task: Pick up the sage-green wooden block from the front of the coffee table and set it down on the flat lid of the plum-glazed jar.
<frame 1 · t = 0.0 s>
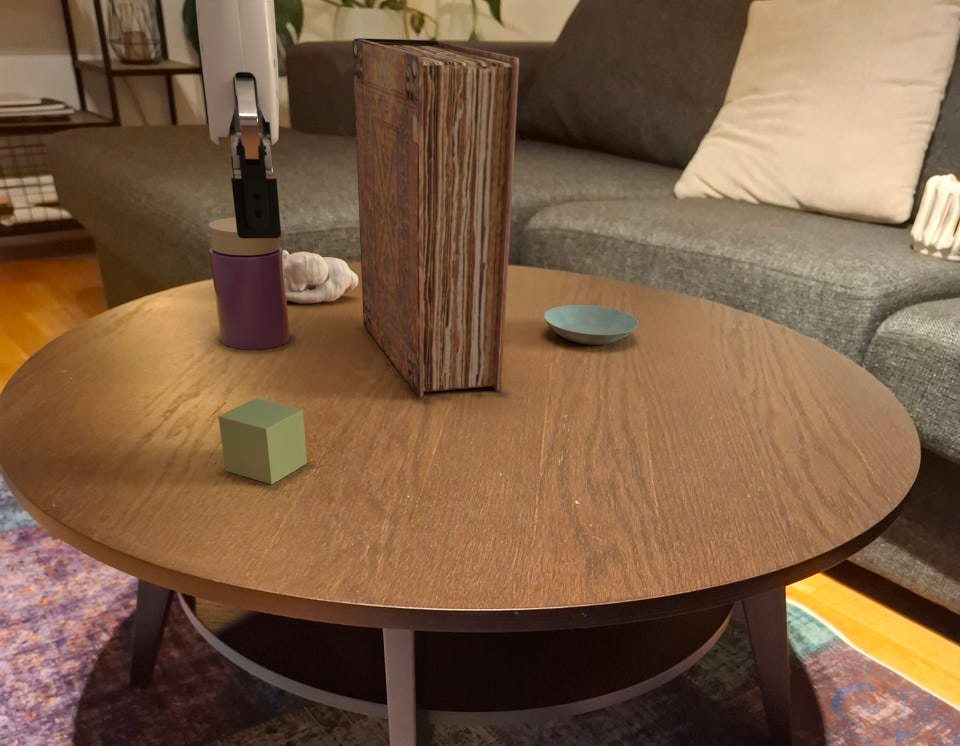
hand: (258, 223, 71), 19 cm above the table, tool pointing down, fingers open, 9 cm apart
baby figurine: (307, 300, 121), on the table
saucer: (588, 338, 113), on the table
jar: (255, 338, 107), on the table
jar lid: (244, 229, 100), point 12 cm above the table, screwed on, not yet turned
block: (266, 467, 79), on the table
book: (426, 358, 104), on the table
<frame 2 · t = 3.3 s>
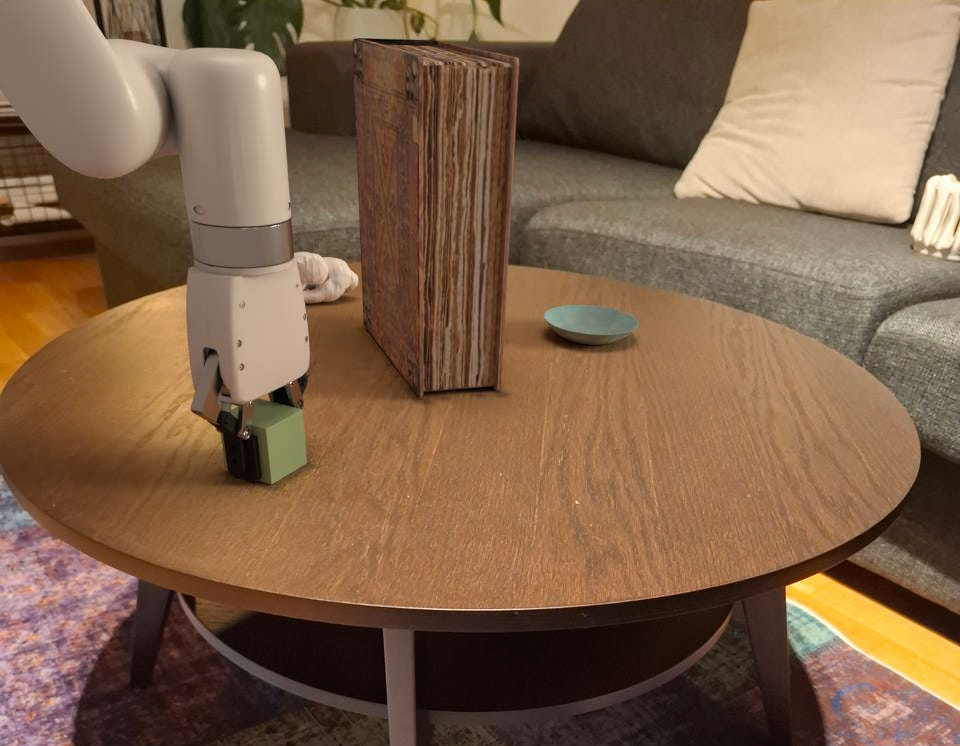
hand: (266, 462, 79), 0 cm above the table, tool pointing down, fingers closed on block, 5 cm apart
block: (266, 467, 79), on the table, touching gripper
everything else where it was.
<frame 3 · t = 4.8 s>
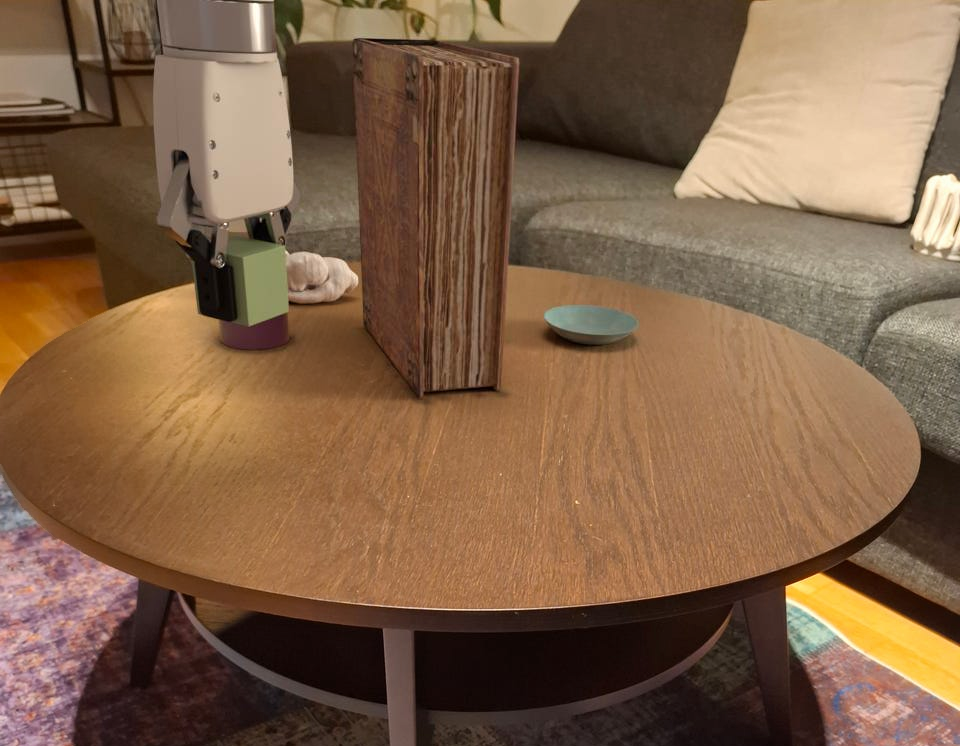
hand: (243, 307, 71), 14 cm above the table, tool pointing down, fingers closed on block, 5 cm apart
block: (244, 313, 71), point 13 cm above the table, touching gripper
everything else where it was.
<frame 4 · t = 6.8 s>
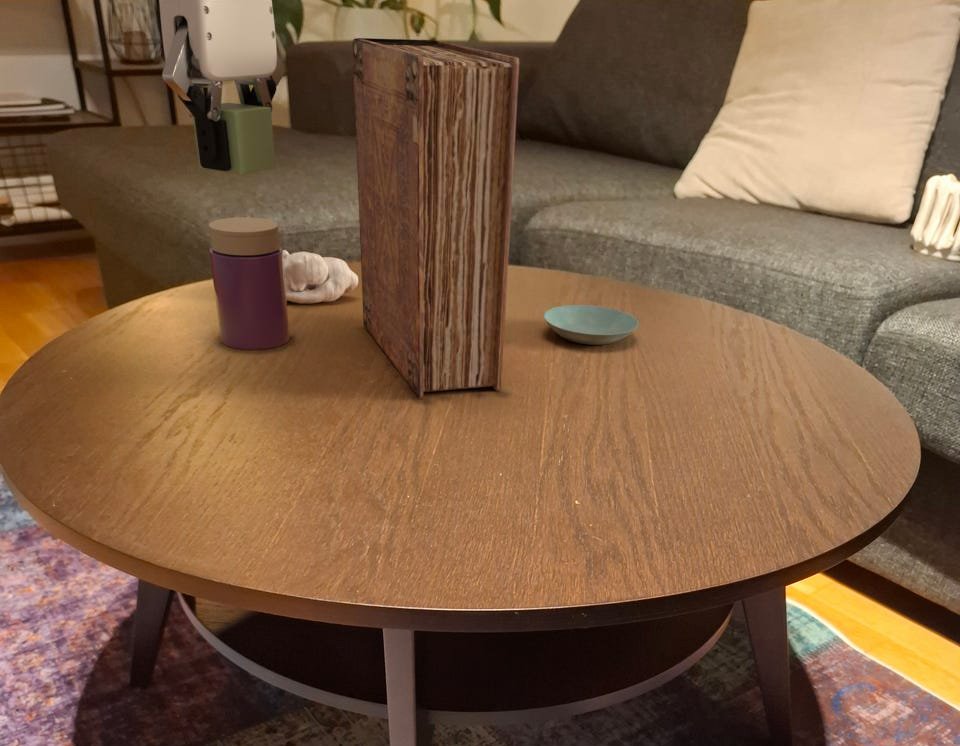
hand: (237, 163, 85), 21 cm above the table, tool pointing down, fingers closed on block, 5 cm apart
block: (238, 168, 85), point 20 cm above the table, touching gripper
everything else where it was.
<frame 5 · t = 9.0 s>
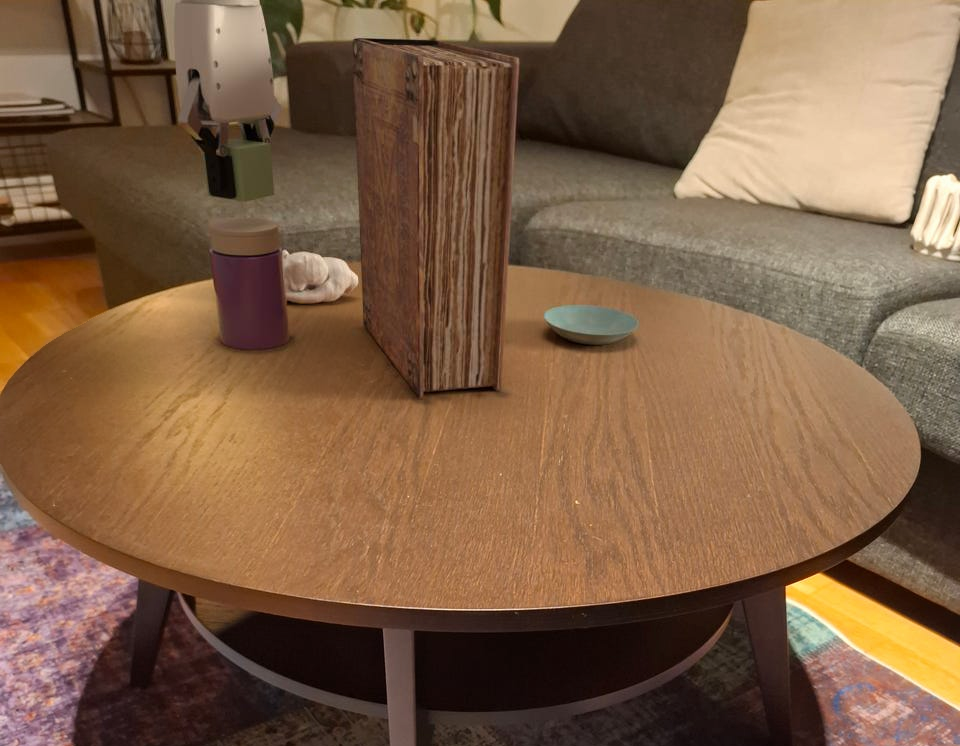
hand: (240, 191, 97), 16 cm above the table, tool pointing down, fingers closed on block, 5 cm apart
block: (241, 195, 98), point 15 cm above the table, touching gripper
everything else where it was.
when the fingers open (13 cm above the table, at t = 10.3 s): block stays where it is, resting on jar lid.
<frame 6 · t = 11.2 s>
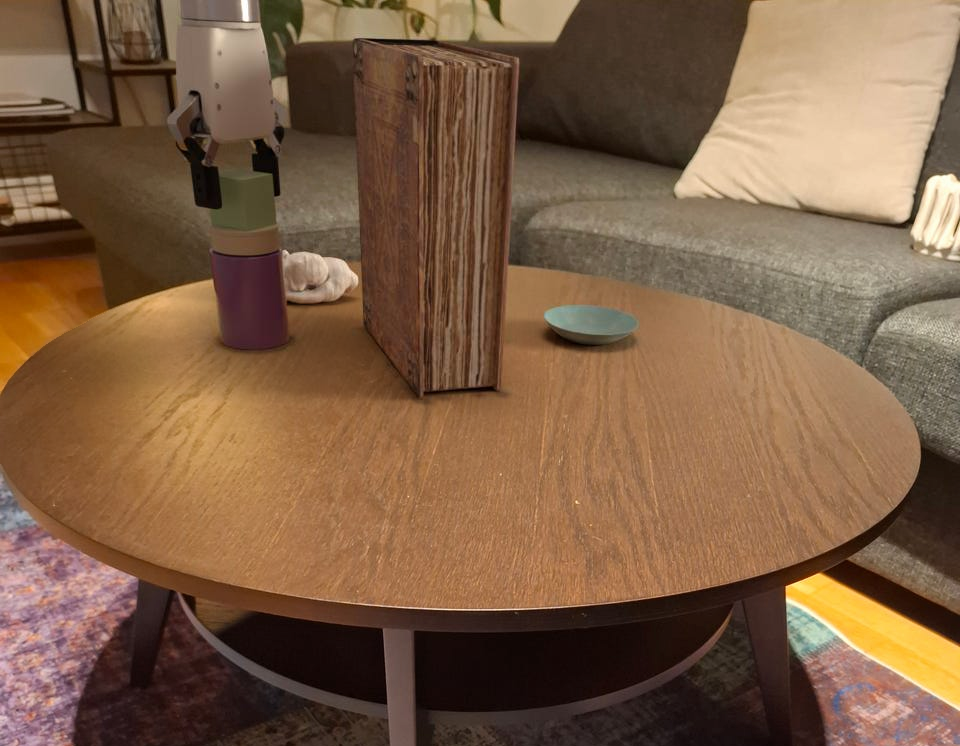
hand: (239, 201, 98), 15 cm above the table, tool pointing down, fingers open, 9 cm apart
jar lid: (244, 229, 100), point 12 cm above the table, screwed on, not yet turned, touching block
block: (244, 224, 99), point 13 cm above the table, touching jar lid
everything else where it was.
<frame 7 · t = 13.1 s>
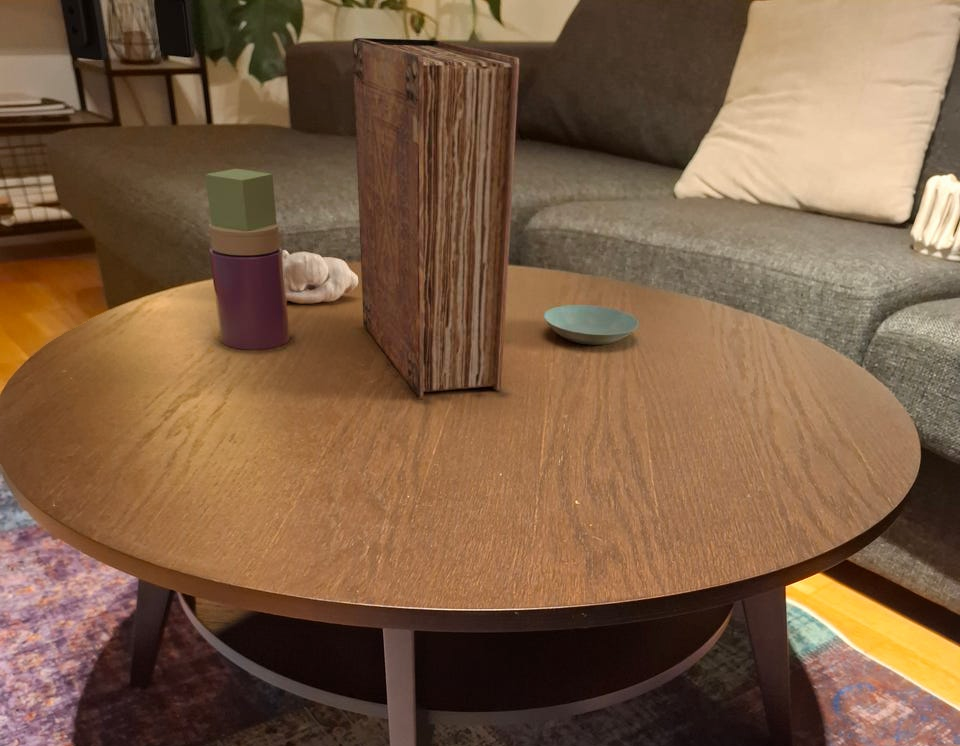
hand: (136, 57, 72), 29 cm above the table, tool pointing down, fingers open, 9 cm apart
nothing on the table moved.
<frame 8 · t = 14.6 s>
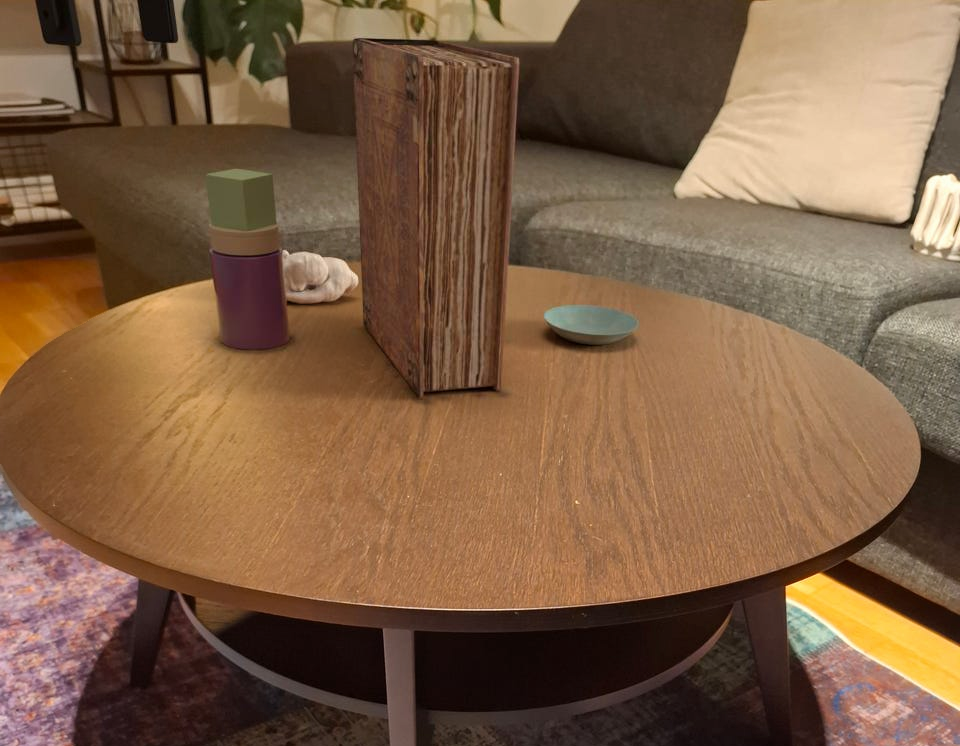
hand: (114, 43, 68), 30 cm above the table, tool pointing down, fingers open, 9 cm apart
nothing on the table moved.
at the end: block 0.1 cm off-centre on the jar, point 12.6 cm above the jar's base; block tilted 0°; the gripper is holding nothing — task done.
